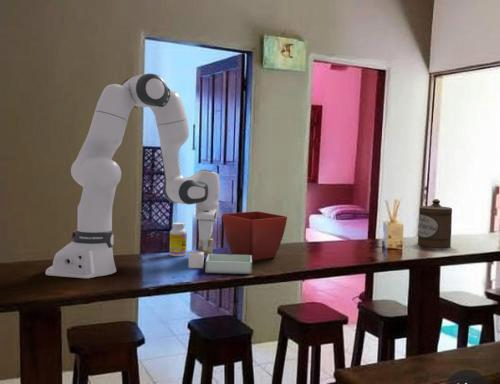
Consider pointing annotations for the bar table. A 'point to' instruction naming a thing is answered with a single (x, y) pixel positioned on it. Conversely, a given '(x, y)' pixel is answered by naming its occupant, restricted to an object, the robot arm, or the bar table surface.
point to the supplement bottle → (178, 240)
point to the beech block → (210, 247)
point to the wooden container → (435, 225)
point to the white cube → (196, 259)
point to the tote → (228, 264)
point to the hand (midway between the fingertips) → (205, 248)
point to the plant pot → (254, 233)
